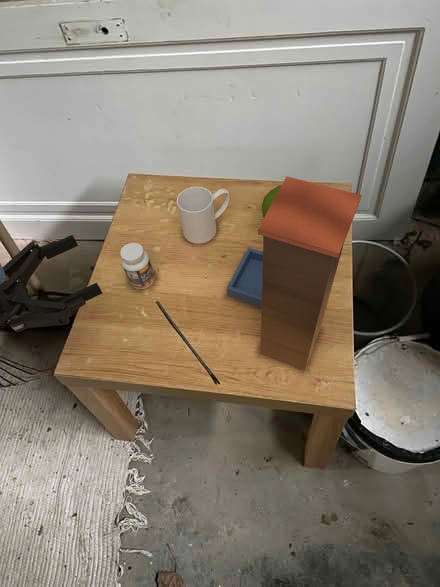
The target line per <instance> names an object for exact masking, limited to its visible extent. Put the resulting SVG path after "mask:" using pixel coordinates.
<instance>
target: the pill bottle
mask: <svg viewBox="0 0 440 587" xmlns="http://www.w3.org/2000/svg"><path fill="white" fill-rule="evenodd" d="M119 255H120V258H121V266H122V268H123V271H124V273H125V276H126V278H127V280H128V283H129V284H130V285H131V287H132V288H134V289H136V290H145V289H148V288H149V287H151V286H152V285H153V284H154V282H155V279H156V274H155V272H154V269H153V265H152V262H151V260H150V257H149V254H148V253H147V252H146V251H145V250H144V247H143V246H142V245H141V244H140V243H138V242H129V243H126V244H125V245H123V247H121V249H120V254H119Z"/></svg>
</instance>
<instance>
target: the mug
mask: <svg viewBox="0 0 440 587" xmlns="http://www.w3.org/2000/svg"><path fill="white" fill-rule="evenodd" d="M223 194H225V198H224V199H225V200H224V202H223V203H222V205H221V206H220V207H219V209H218V210H217V211H216V212H215V205H214V201H215V200H216V199H217V198H218V197H220V196H221V195H223ZM230 200H231V194H230V192H229V190H227V189H226V188H220V189H218V190H216V191H215V192H213V193H212V192H211V191H210V190H209V189H208V188H206V187H202V186H190V187H187V188H185V189H183V190H181V191H180V193H179V194H178V195H177V198H176V205H177V211H178V214H179V215H178V216H179V220H180V224H181V229H182V233H183V234H182V235H183V237H184V238H185V240H187V241H188V242H190V243H192V244H198V245H200V244H201V245H202V244H206V243H208V242H210V241H211V240H213V238H214V237H215V236H216V233H217V223H216V220H217V219H218V218H219V217H220V216H221V215H222V214H223V213H224V212H225V210H226V209H227V208H228V206H229V204H230Z"/></svg>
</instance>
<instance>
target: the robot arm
mask: <svg viewBox="0 0 440 587" xmlns="http://www.w3.org/2000/svg"><path fill="white" fill-rule="evenodd" d="M77 247H79V243H78V242H77V240H76V239H75V237H74V235H73V234H70V235H68V236H66V237H64V238H61V239H60V240H54V241H51V242H48V243H47V244H44V245H42V246H40V245H39V243H35V242H34V241H30V242H28V244H26V245H25V246H24V247H23V248H22V249H21V250H20V251H19V252H17V254H16V255H15V256H13V257H12V258H11V259H10V260H9V261H8V262H6V263H5V264H4V265H2V263H1V262H0V327H2V326H5V325H6V324H8V325H9V327H10V328H11V329H13V330H14V332H16V333H20V332H22V331H25V330H27V329H35V328H44V327H45V328H47V327H56V326H67V325H70V323H71V320H70V318H71V317H72V315H73V313H72V312H74V311H76V310H78V309H81V308H82V307H84V306H85V305H87V302H88V301H90V300H92V299H94V298H96V297H98V296H101V295H102V294H103V291H102V289H101V287H100V285H99V284H98V282H96V281H95V282H94V283H92V284H90V285H88V286H86V287H84V288H82V289H80V290H78V291H75V292H73V293H71V294H69V295H68V296H65V297H63V298H62V300H63V302H58V301H57V302H56V301H48V300H42V299H41V300H40V299H34V298H32V296H30V295H29V289H28V287H27V286H28V284H29V283H28V282H29V281H30V279H31V277H32V276H33V275H34V273H35V271H36V270H37V269H38V268H39V266H40V265H41V263H42V262H43V261H44V259H45V258H46V260H51V259H52V258H54V257H56V256H59V255H62V254H63V253H66V252H68V251H70V250H72V249H74V248H77ZM23 312H24V313H31V314H27V315H22V314H23ZM34 313H39V314H34Z"/></svg>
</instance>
